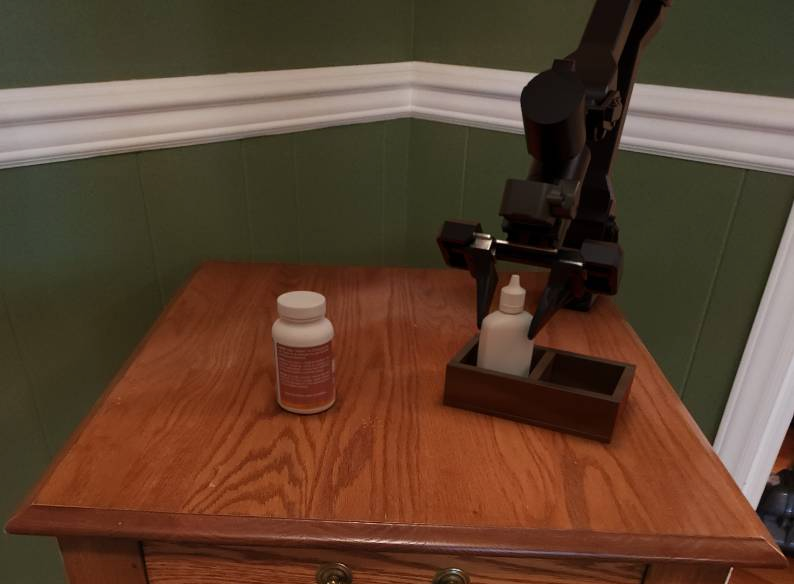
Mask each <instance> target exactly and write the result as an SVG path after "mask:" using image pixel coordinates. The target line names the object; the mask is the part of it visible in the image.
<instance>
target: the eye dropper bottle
mask: <svg viewBox="0 0 794 584" xmlns="http://www.w3.org/2000/svg"><path fill="white" fill-rule="evenodd" d="M520 284H521V283H520V275H518V274H512V275H511V277H510V280H509V283H508V285H506V286H503V287H502V288H500V289H501V290H500V297H499V306H498V309H497V310H495V311H493V312H491V313H489V314H488V316H486V317H485V318H484V319H483V321H482V326H481V330H480V340H479V348H478V357H477V366H476V367H480V368H485V369H489V370H494V371H498V372H503V373H508V374H512V375H517V376H521V377H526V378H528V376H529V370H530V364H531V358H532V351H533V345H534V344H535V338H536V336H535V337H534V339H533V340H528V337H527V335H528V331H529V328H530V324H531V321H532V318H533V316H534V315H532V314H531V313H529V312H528V311H525V310H524V307H525V299H526V294H527V291H526V289H525V288H524V287H522V286H521V285H520Z"/></svg>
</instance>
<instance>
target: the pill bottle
mask: <svg viewBox="0 0 794 584" xmlns="http://www.w3.org/2000/svg"><path fill="white" fill-rule="evenodd" d="M326 302H327V301H326V298H325V296H324V294H321V293H319V292H315V291H309V290H296V291H288V292H286V293H282V294H281V295H279V296H278V297H277V299H276V307H277V309H276V310H277V313H278V316H279V318H277V319H276V320H275V321H274V323H273V324H272V327H271V341H272V342H271V344H272V352H273V353H272V354H273V355H272V356H273V368H274V381H275V392H276V401H277V403H278V405H279V406H280V407H281V408H282V409H283V410H285V411H288V412H291V413H295V414H302V415H311V414H317V413H321V412H323V411H326V410H327V409H329V408H330V407H332V406H333V404H334V403H335V401H336V369H335V366H336V365H335V331H334V326H333V323H332V322H331V321H330V319H328V318H327V317H325V316H326V312H327V304H326Z"/></svg>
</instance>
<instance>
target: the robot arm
mask: <svg viewBox="0 0 794 584" xmlns="http://www.w3.org/2000/svg"><path fill="white" fill-rule="evenodd" d="M674 3H675V0H595V1H594V3H593V6H592V9H591V10H590V13H589V16H588V19H587V22H586V24H585V26H584V29H583V32H582V34H581V37H580V40H579V42H578V45H577V46H576V49H575V50H574V51H572V52H571V53H569V54H568V55H566V56H564V57H563V58H554V59H553V61H552V64H551V67H550V68H548V69H546V70H543V71H541V72H540V73H538V74H536V75H535V76H533V77H532V78H531V79H530V80H529V81H528V82H527V83H526V85H525V86H523V87H522V89H521V92H520V97H519V103H520V111H521V119H522V125H523V132H524V139H525V145H526V151H527V154H528V155H529V156H531V157H532V158H531V161H530V163H529V168H528V171H527V174H526V177H525V179H518V178H506V179H505V183H504V187H503V192H502V196H501V201H500V204H499V209H498V214H497V215H498V216H499V217H502V221H501V224H500V226H501V231H502V233H505V234H506V236H505V239H498V238H496V237H495V236H494V235H492V234H489V233H484V230H483V228H482V227H483V226H482V224H481V222H480V221H474V220H469V219H468V220H466V219H462V218H453V217H449V218H447V219H446V220H444V221H443V222H442V224H440V225H439V229H438V231H437V235H436V238H435V241H436V243H437V246H438V248H439V251H440V253H441V256H442V258H443V261H444V263H445V265H446V266H448V267H449V268H451V269H454V270H455V269H456V270H462V271H467V272H469V274H470V276H471V278H473V279H475V283H476V328H477V330H478V331H481V326H482V321H483V319H484V318H485V317H486V316H488V315H489V314H490V311H491V307H492V304H493V300H494V297H495V293H496V290H497V288H498V287H497V286H498V284H499V279H500V278H499V275H498V272H497V268H496V266H497V265H498V262H499V261H502V262H509V263H513V264H519V265H525V266H531V267H538V268H542V269H548V270H550V273H549V275H548V279H547V283H546V285H545V287H544V290H543V293H542V295H541V297H540V300H539V302H538V305H537V307H536V309H535V312H534V314H533V315H532V316H533V318H532V321H531V324H530V328H529V331H528V335H527V337H528V340H533V339H534V340H535V338H536V336H537V335H538V334H539V333H540V332H541V331H542V330H543V328H544V327H545V326H546V325H547V324H548V323H549V321H551V319H552V318H553V317H554V316H555V315H556V313H558V312H559V311H560V310H561V309H563V307H565V308H571V309H576V310H582V311H590V310H591V308H592V307H593V306H594V304H595V302H596V301H597V300H598V298H599V295H604V296H609V297H612V296H616V295H618V291H619V288H620V286H621V282H622V279H623V275H624V263H625V250H624V248H623V246H622V245H621V243H619V239H620V227H619V225H618V223H619V222H618V216H617V215H616V210H617V205H618V204H617V201H616V196H615V193H614V189H613V185H612V182H611V179H612V177H613V176H612V175H613V172H614V167H615V163H616V159H617V155H618V152H619V147H620V143H621V139H622V135H623V131H624V127H625V124H626V119H627V116H628V112H629V107H630V103H631V99H632V94H633V91H634V87H635V83H636V78H637V75H638V71H639V66H640V62H641V60H642V55H643V51H644V50H645V49H646V47H647V46H649V44H650V43H651V42H652V40H653V39H654V38H655V37H656V36H657V35H658V33H659V32H660V31H661V30H662V28H663V26H664V21H665V18H666V15H667V10H668V8H672V7H673V6H674ZM534 337H535V338H534Z"/></svg>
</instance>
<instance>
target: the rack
mask: <svg viewBox="0 0 794 584" xmlns="http://www.w3.org/2000/svg"><path fill="white" fill-rule="evenodd" d="M479 340H480V333H479V332H475V333H474V334H473V335H472V337H470V338H469V339H468V340H467V342H466V343H465V344H464V345H463V346H462V347H461V348H460V349H459V350H458V351H457V352H456V353H455V354H454V355H453V356H452V358H451V359H449V361H448V362H447V363H446V365H445V378H444V390H443V400H442V405H445V406H449V407H453V408H457V409H461V410H466V411H470V412H474V413H478V414H482V415H486V416H487V415H488V416H491V417H495V418H499V419H504V420H508V421H512V422H516V423H520V424H525V425H530V426H533V427H538V428H542V429H545V430H550V431H553V432H558V433H561V434H562V433H563V434H566V435H571V436H576V437H580V438H584V439H588V440H592V441H596V442H601V443H605V444H611V442H612V440H613V437H614V435H615V433H616V431H617V428H618V426H619V423H620V422H621V420H622V419H621V418H622V416H623V415H624V411H625V409H626V407H627V404H628V401H629V397H630V395H631V394H630V393H631V389H632V385H633V382H634V378H635V375H636V370H637V364H633V363H629V362H624V361H618V360H614V359H609V358H603V357H599V356H595V355H588V354H584V353H580V352H575V351H569V350H564V349H559V348H554V347H549V346H544V345H540V344H535V343H534V345H533V351H532V358H531V364H530V370H529V376H528V378H526V377H521V376H517V375H512V374H508V373H503V372H498V371H494V370H489V369H485V368H480V367H476V366H477V357H478V348H479Z"/></svg>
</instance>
